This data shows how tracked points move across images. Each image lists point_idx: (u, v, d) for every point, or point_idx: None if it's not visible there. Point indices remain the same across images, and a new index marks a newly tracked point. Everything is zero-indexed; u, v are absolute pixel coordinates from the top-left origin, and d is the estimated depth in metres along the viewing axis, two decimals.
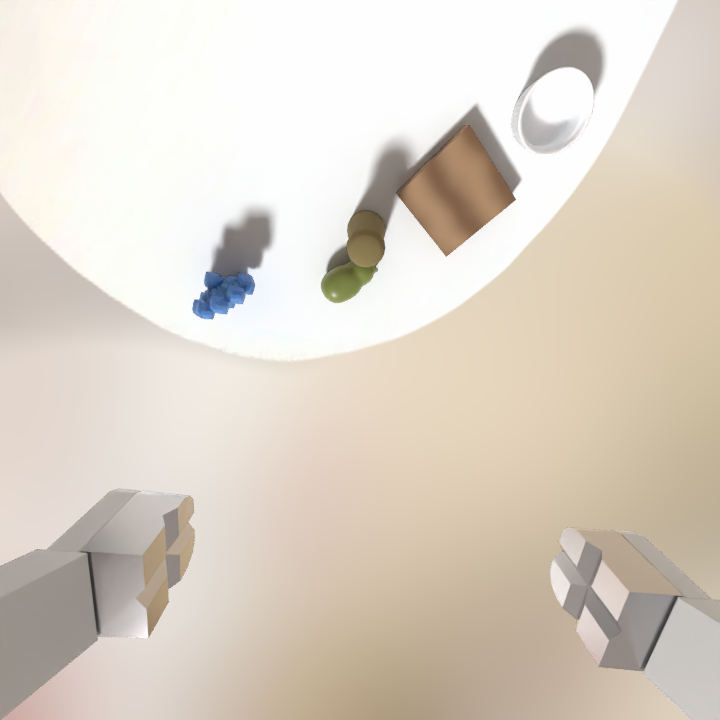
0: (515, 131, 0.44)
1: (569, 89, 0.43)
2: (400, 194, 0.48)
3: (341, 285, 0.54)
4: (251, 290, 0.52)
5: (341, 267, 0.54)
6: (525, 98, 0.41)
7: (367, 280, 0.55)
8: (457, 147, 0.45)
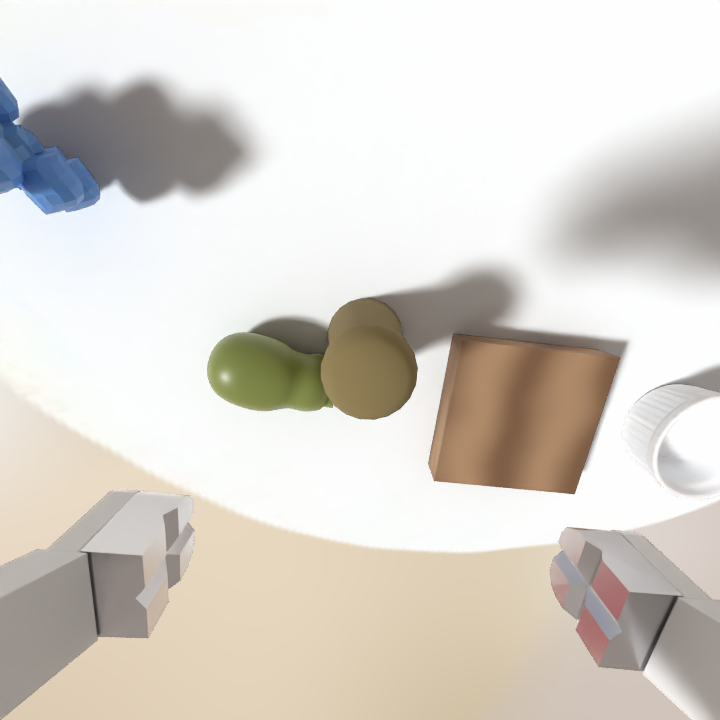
0: (646, 418, 0.27)
1: (715, 431, 0.29)
2: (466, 344, 0.25)
3: (256, 379, 0.23)
4: (49, 203, 0.18)
5: (285, 350, 0.24)
6: (708, 399, 0.25)
7: (303, 408, 0.25)
8: (583, 366, 0.25)
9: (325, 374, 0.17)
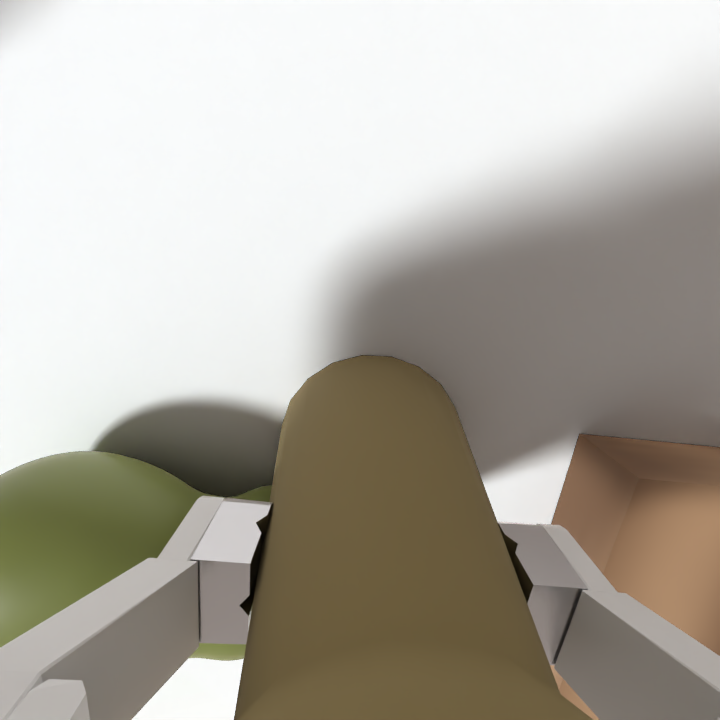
0: None
1: None
2: (649, 487, 0.09)
3: None
4: None
5: (162, 519, 0.08)
6: None
7: None
8: None
9: None
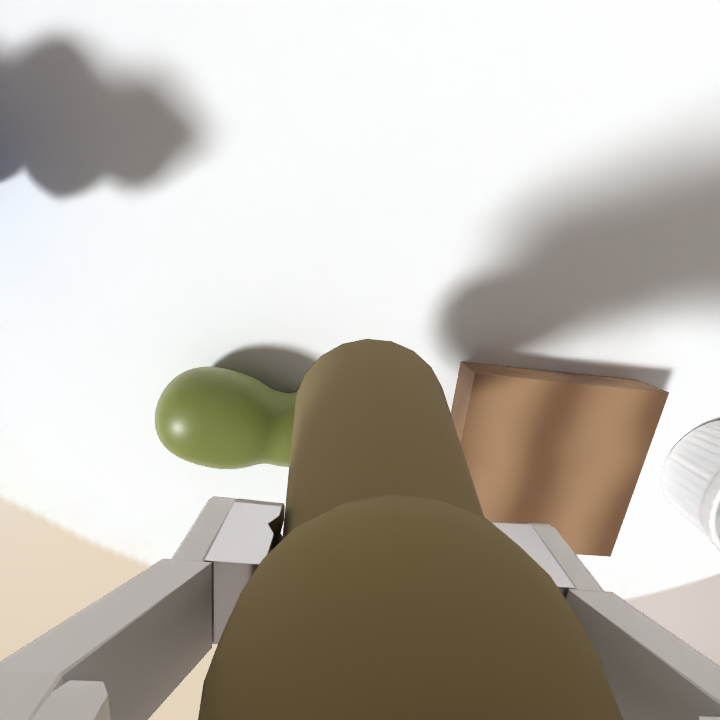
0: (696, 463, 0.22)
1: None
2: (480, 377, 0.20)
3: (219, 432, 0.17)
4: None
5: (259, 391, 0.19)
6: None
7: (283, 464, 0.20)
8: (624, 403, 0.20)
9: None
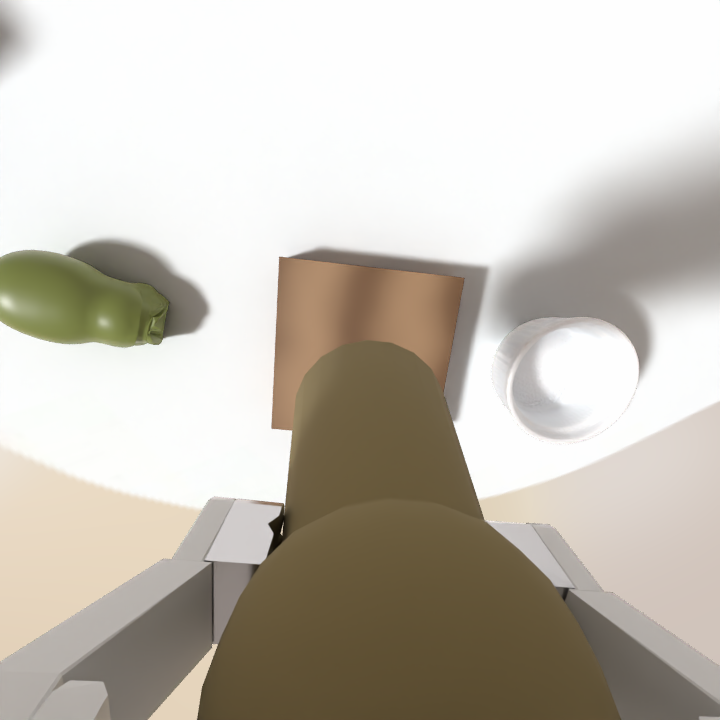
0: (506, 352, 0.24)
1: (592, 371, 0.26)
2: (285, 261, 0.22)
3: (33, 297, 0.20)
4: None
5: (82, 269, 0.21)
6: (560, 323, 0.21)
7: (112, 341, 0.22)
8: (424, 288, 0.22)
9: None
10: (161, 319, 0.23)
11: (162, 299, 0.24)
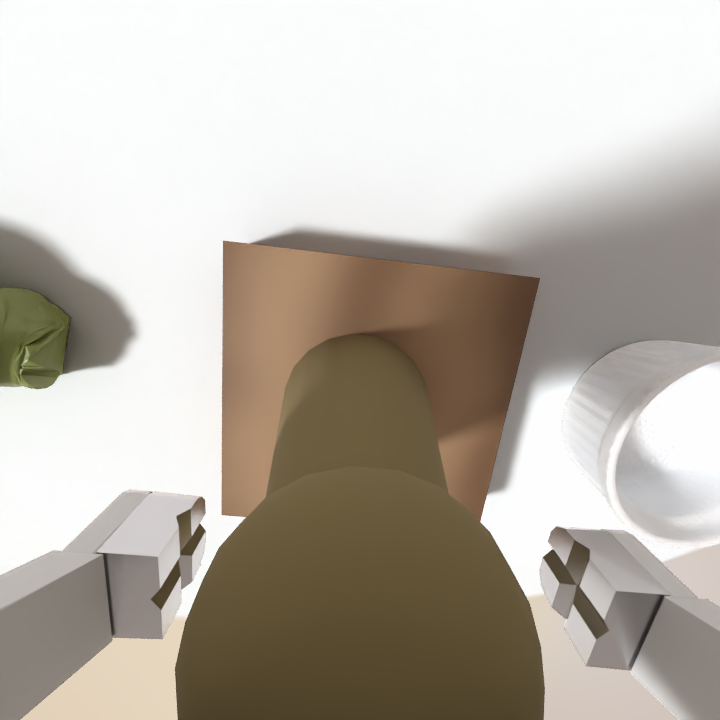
0: (597, 398, 0.15)
1: None
2: (233, 248, 0.12)
3: None
4: None
5: None
6: (710, 357, 0.12)
7: None
8: (470, 295, 0.13)
9: None
10: (46, 348, 0.14)
11: (55, 314, 0.15)
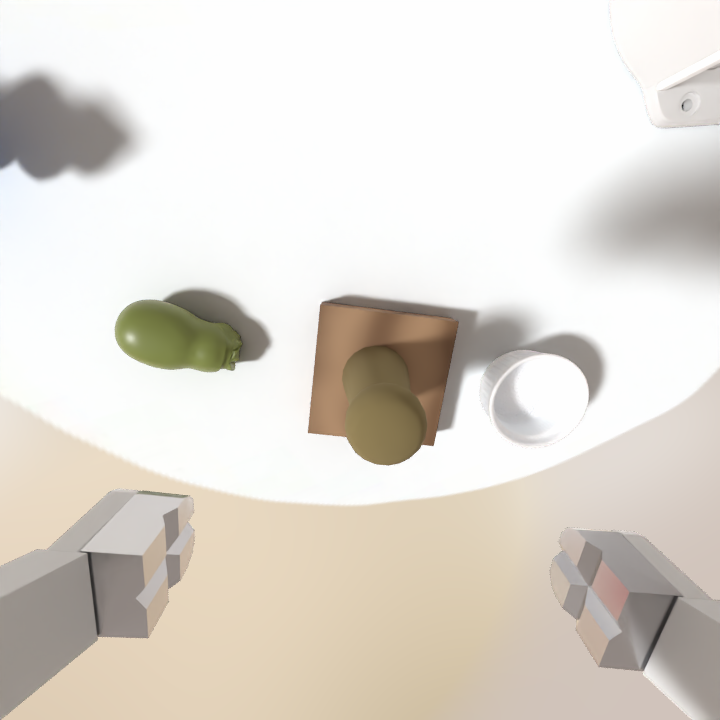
0: (490, 377, 0.31)
1: (557, 392, 0.33)
2: (324, 308, 0.29)
3: (155, 337, 0.27)
4: None
5: (185, 315, 0.28)
6: (529, 358, 0.29)
7: (203, 368, 0.29)
8: (428, 329, 0.29)
9: (350, 426, 0.20)
10: (237, 351, 0.30)
11: (236, 335, 0.31)
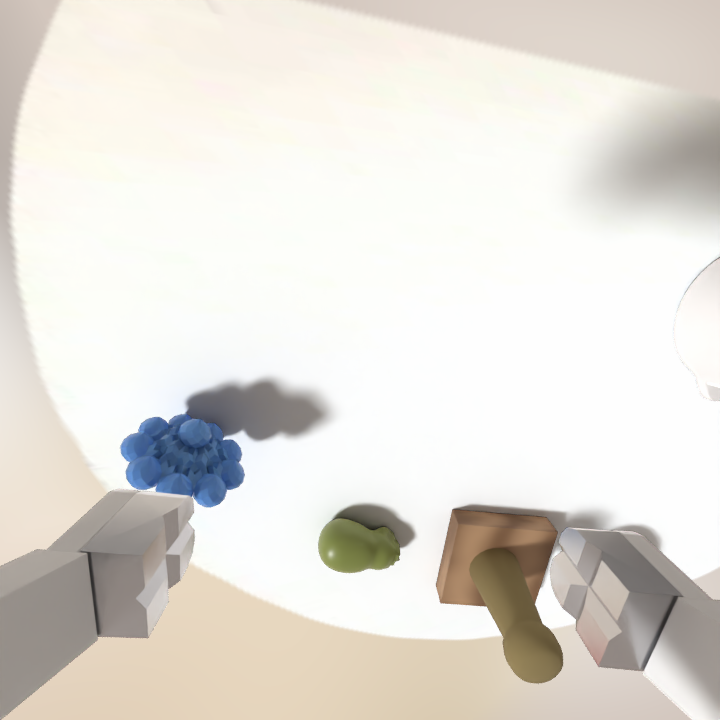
0: None
1: None
2: (461, 526, 0.40)
3: (353, 560, 0.38)
4: None
5: (368, 537, 0.39)
6: None
7: (376, 569, 0.40)
8: (535, 537, 0.40)
9: (514, 662, 0.31)
10: None
11: (392, 535, 0.42)
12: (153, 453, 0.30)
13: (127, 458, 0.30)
